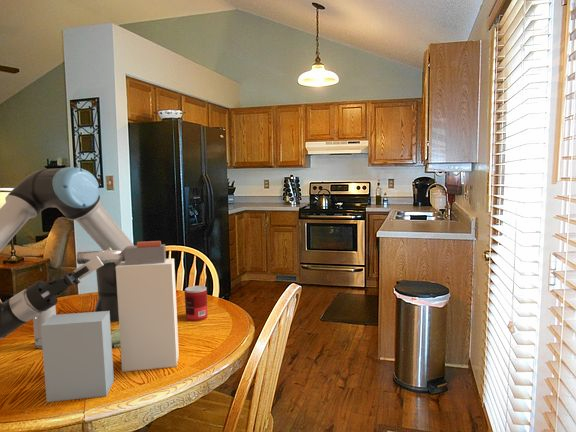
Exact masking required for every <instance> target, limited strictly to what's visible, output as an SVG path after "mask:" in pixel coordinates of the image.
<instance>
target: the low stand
mask: <svg viewBox="0 0 576 432" xmlns="http://www.w3.org/2000/svg"><path fill="white" fill-rule="evenodd" d="M111 329H112V328H111V321H110V311H101V312H94V311H89V312H77V313H76V312H75V313H74V312H73V313H61V314H60V313H59V314H56V315H53V316H51V317H50V318H49V319H48V320H47V321H46V322H44V323H43V324H42V325H41V335H42V348H43V349H42V357H43V358H42V360H43V372H44V384H45V385H44V386H45V399H46V403H50V402H62V401H72V400H78V399H79V400H80V399H88V398H89V399H91V398H101V397H107V396H108V394H109V392H110V391H111V388H112V386H113V384H114V381H115V379H114V378H115V375H114V360H113V358H114V357H113V345H112V342H111V332H112V331H111Z"/></svg>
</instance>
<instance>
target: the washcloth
mask: <svg viewBox="0 0 576 432" xmlns="http://www.w3.org/2000/svg"><path fill="white" fill-rule="evenodd" d="M111 342H112V346H113V348H114V349H119V348H120V349H121V346H120V329H119V328H117V329H115V330H113V331H111Z"/></svg>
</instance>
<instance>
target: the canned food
mask: <svg viewBox="0 0 576 432" xmlns="http://www.w3.org/2000/svg"><path fill="white" fill-rule="evenodd" d="M184 303H185V306H184V307H185V318H186V320H187V321H188V322H200V321H203V320H206V319H207V318H208V315H209V313H208V312H209V311H208V289H207V286H204V285H192V286H188V287H186V288H185V289H184Z"/></svg>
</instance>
